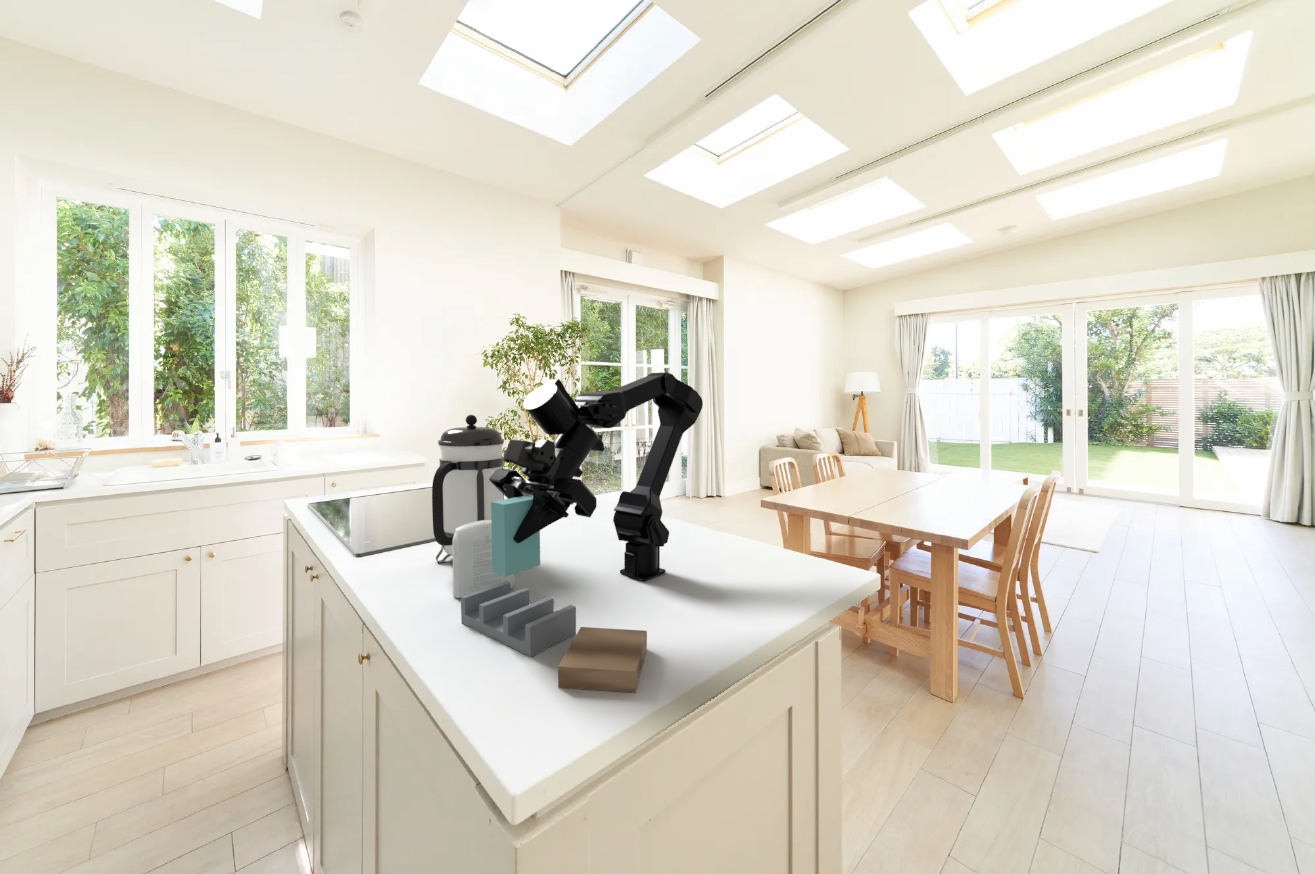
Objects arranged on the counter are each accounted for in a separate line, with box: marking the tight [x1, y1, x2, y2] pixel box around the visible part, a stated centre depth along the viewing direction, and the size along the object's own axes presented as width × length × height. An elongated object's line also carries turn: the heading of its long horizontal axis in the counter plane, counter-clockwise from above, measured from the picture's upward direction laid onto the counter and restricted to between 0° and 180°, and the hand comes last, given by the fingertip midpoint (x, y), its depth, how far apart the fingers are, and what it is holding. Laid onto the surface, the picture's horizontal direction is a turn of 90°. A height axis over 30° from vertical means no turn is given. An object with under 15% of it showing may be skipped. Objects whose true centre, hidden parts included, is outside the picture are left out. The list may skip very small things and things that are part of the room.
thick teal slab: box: [491, 495, 541, 577], centre depth 70 cm, size 6×3×10 cm, turn 143°
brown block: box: [557, 626, 648, 694], centre depth 61 cm, size 10×9×2 cm
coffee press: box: [431, 414, 505, 564], centre depth 101 cm, size 17×16×30 cm
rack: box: [460, 581, 577, 658], centre depth 71 cm, size 8×16×4 cm, turn 53°
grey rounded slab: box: [452, 520, 515, 599], centre depth 85 cm, size 10×4×12 cm, turn 123°
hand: (508, 539), depth 69 cm, fingers closed on thick teal slab, 3 cm apart
